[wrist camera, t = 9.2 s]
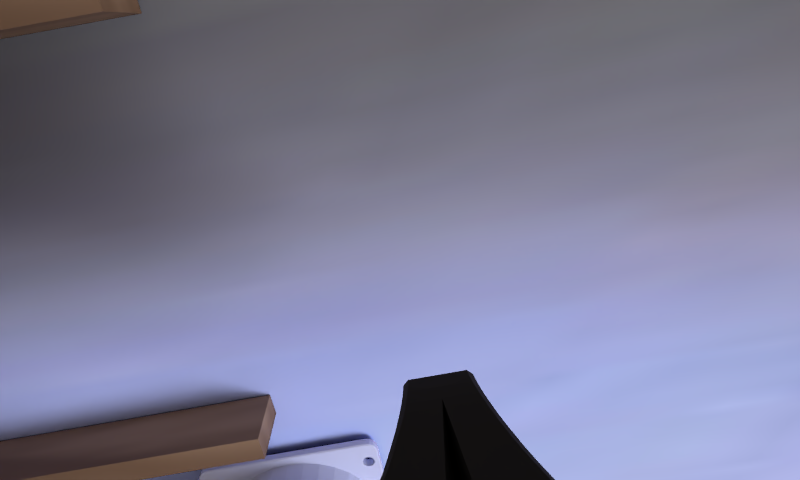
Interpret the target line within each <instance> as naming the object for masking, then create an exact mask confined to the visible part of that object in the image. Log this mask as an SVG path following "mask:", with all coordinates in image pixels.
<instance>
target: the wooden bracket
mask: <svg viewBox="0 0 800 480" xmlns="http://www.w3.org/2000/svg"><path fill="white" fill-rule="evenodd" d="M140 13H141V10H140V7H139V4H138V1H137V0H0V39H4V38H9V37H14V36H20V35H25V34H31V33H36V32H42V31H47V30H53V29H58V28H64V27H69V26H75V25H80V24H86V23H91V22H97V21H102V20H108V19H113V18H119V17H124V16H129V15H135V14H140ZM275 415H276V412H275V409H274V406H273V403H272V400H271V397H270V395H267V396H261V397H255V398H250V399H244V400H238V401H232V402H226V403H221V404H215V405H209V406H203V407H197V408H191V409H186V410H180V411H174V412H168V413H162V414H156V415H151V416H145V417H139V418H133V419H127V420H122V421H116V422H110V423H104V424H98V425H92V426H87V427H81V428H75V429H69V430H63V431H57V432H52V433H46V434H40V435H34V436H28V437H23V438H17V439H11V440H5V441H0V480H142V479H148V478H153V477H159V476H165V475H171V474H177V473H183V472H189V471H195V470H201V469H206V468H212V467H218V466H224V465H230V464H236V463H242V462H248V461H253V460H259V459H265V457H266V453H267V449H268V444H269V440H270V436H271V432H272V428H273V424H274V419H275Z"/></svg>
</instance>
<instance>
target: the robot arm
mask: <svg viewBox="0 0 800 480" xmlns="http://www.w3.org/2000/svg"><path fill="white" fill-rule="evenodd" d="M367 457H371V458H372V459H366V458H367ZM199 479H200V480H555V479H554V478H553V477H552V476H551V475H550V474H549V473H548V472H547V471H546V470H545V469H544V468H543V467H542V466H541V465H540V463H539V462H538V461H537V460H536V459H535V458H534V457H533V456H532V455H531V453H530V452H529V451H528V450H527V449H526V448H525V447H524V445H523V444H522V443H521V442H520V441H519V439H518V438H517V437H516V436H515V434H514V433H513V432H512V431H511V430H510V428H509V427H508V426H507V425H506V423H505V422H504V421H503V420H502V418H501V417H500V416H499V414H498V413H497V412H496V410H495V409H494V407H493V406H492V405H491V403H490V402H489V400H488V399H487V397H486V396H485V394H484V393H483V391H482V390H481V388H480V387H479V385H478V383H477V381H476V380H475V378H474V376H473V374H472V373H470V372H469V371H467V370H465V371H459V372H453V373H447V374H441V375H435V376H430V377H424V378H418V379H412V380H408V381H407V382H406V383H405V385H404V387H403V398H402V405H401V410H400V415H399V419H398V423H397V428H396V432H395V435H394V439H393V442H392V445H391V449H390V452H389V455H388V459H387V462H386V465H385V468H384V469H383V465H382V461H381V457H380V453H379V448H378V445H377V443H376V442H375V441H374V440H371V439H361V440H355V441H349V442H343V443H337V444H331V445H325V446H320V447H314V448H308V449H302V450H296V451H290V452H284V453H278V454H273V455H267V456H266V457H265V459H259V460H253V461H248V462H242V463H236V464H230V465H224V466H218V467H212V468H206V469H202V471H201V474H200V477H199Z"/></svg>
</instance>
